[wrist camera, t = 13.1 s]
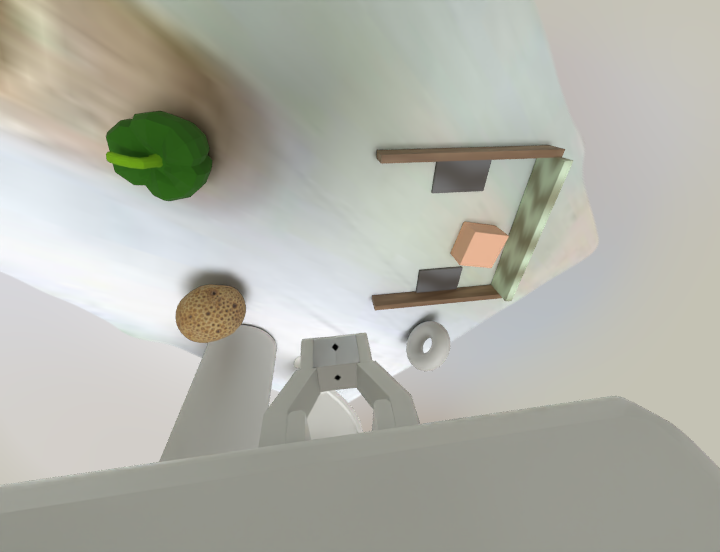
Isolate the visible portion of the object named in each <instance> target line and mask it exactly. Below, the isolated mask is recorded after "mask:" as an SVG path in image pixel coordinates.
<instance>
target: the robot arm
mask: <svg viewBox="0 0 720 552" xmlns="http://www.w3.org/2000/svg"><path fill="white" fill-rule="evenodd" d="M348 388H357V389H358V390H359V392H360V393H361V394H362V396H363V397H364V398H365V399H366V401H367V402H368V403H369V404H370V406H371V407H372V408H373V424H372V431H369V432H362V433H355V434H348V435H342V436H335V437H328V438H321V439H314V440H311V436H310V431H309V427H308V423H307V418H308V416H309V414H310V412H311V410H312V408H313V406H314V404H315V403H316V401H317V399H318V397H319V395H320V392H325V391H332V390H338V389H348ZM0 552H720V468H719V467H718V466H717V465H716V464H715V463H714V462H713V461H712V460H711V459H710V458H709V457H708V456H707V455H706V454H705V453H704V452H703V451H702V450H701V449H700V448H699V447H698V446H697V445H696V444H695V443H694V442H693V441H692V440H691V439H690V438H689V437H688V436H687V435H685V434H684V433H683V432H682V431H681V430H680V429H678V428H677V427H676V426H675V425H673V424H672V423H670V422H669V421H667V420H665V419H663V418H662V417H660V416H658V415H656V414H654V413H652V412H651V411H649V410H647V409H645V408H643V407H641V406H639V405H637V404H635V403H633V402H631V401H629V400H627V399H625V398H622V397H617V396H610V397H602V398H596V399H589V400H582V401H575V402H568V403H561V404H555V405H547V406H540V407H534V408H527V409H520V410H513V411H506V412H499V413H493V414H486V415H479V416H472V417H465V418H459V419H452V420H445V421H438V422H431V423H424V424H420V422H419V418H418V416H417V412H416V409H415V406H414V403H413V399H412V396H411V394H410V393H409V392H408V391H407V390H405V389H404V388H403V387H402V386H401V385H400V384H399V383H398V382H397V381H396V380H395V379H394V378H393V377H392V376H391V375H390V374H389V373H388V372H387V371H386V370H385V369H384V368H382V367H381V366H380V365H379V364H378V363H377V362H376V361H372V357H371V352H370V347H369V342H368V338H367V334H366V333H358V334H348V335H339V336H333V337H320V338H309V339H302V342H301V358H300V370H296V371H295V373H294V374H293V375H292V377H291V378H290V380H289V381H288V382H287V384H286V385H285V386H284V388H283V389H282V390H281V392H280V393H279V394H278V396H277V397H276V398H275V400H274V401H273V402H272V404H271V405H270V406H269V408H268V409H267V410H266V412H265V413H264V415H263V421H262V427H261V433H260V440H259V446H258V448H253V449H246V450H239V451H232V452H225V453H218V454H212V455H205V456H198V457H191V458H184V459H177V460H170V461H163V462H157V463H150V464H143V465H136V466H129V467H123V468H115V469H108V470H101V471H95V472H88V473H81V474H74V475H67V476H61V477H53V478H46V479H39V480H32V481H26V482H18V483H11V484H4V485H0Z"/></svg>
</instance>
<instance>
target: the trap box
mask: <svg viewBox="0 0 720 552" xmlns="http://www.w3.org/2000/svg"><path fill="white" fill-rule="evenodd" d="M564 151H565V149H562V148H558V147H554V146H550V145H540V146H505V147H470V148H435V149H400V150H377V159H378V160H379V162H380V163H410V162H436V167H435V174H434V180H433V186H432V193H449V192H470V191H483V190H484V186H485V183H486V179H487V175H488V172H489V168H490V164H491V160H497V159H527V158H537V159H536V162H535V165H534V167H533V170H532V173H531V176H530V178H529V181H528V184H527V187H526V189H525V192H524V195H523V198H522V200H521V203H520V206H519V209H518V211H517V214H516V217H515V220H514V222H513V225H512V228H511V231H510V233H509V237H508V239H507V242H506V244H505V247H504V250H503V253H502V255H501V258H500V261H499V264H498V266H497V269H496V272H495V275H494V278H493V280H492V283H491V285H483V286H472V287H461V288H457V286H458V282H459V279H460V275H461V271H462V267H449V268H437V269H425V270H419V275H418V282H417V288H416V292H405V293H394V294H383V295H372V302H373V305H374V309H375V310H383V309H394V308H404V307H414V306H425V305H435V304H445V303H456V302H466V301H477V300H487V299H497V298H503V299H504V300H505V301H512V299H513V297H514V294H515V292H516V290H517V287H518V285H519V283H520V281H521V278H522V276H523V274H524V272H525V269H526V267H527V265H528V263H529V260H530V258H531V256H532V253H533V251H534V249H535V247H536V244H537V242H538V240H539V238H540V235H541V233H542V231H543V228H544V226H545V224H546V222H547V219H548V217H549V215H550V213H551V210H552V208H553V206H554V204H555V201H556V199H557V197H558V194H559V192H560V190H561V188H562V185H563V183H564V181H565V179H566V176H567V174H568V172H569V169H570V167H571V165H572V163H573V160H570V159H566V158H563V157H562V156H563V153H564Z"/></svg>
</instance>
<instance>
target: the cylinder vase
mask: <svg viewBox="0 0 720 552" xmlns="http://www.w3.org/2000/svg"><path fill="white" fill-rule="evenodd" d="M276 352H277V347H276V343H275V341H274V339H273V338H272V337H271V336H270V335H269V334H268V333H267V332H265V331H263V330H261V329H259V328H256V327H252V326H246V325H240V327H239V328H237V329H236V331H235V332H234V333H233V334H231V335H229V336H227V337H225V338H223V339H220V340H217V341H213V342H209V343H208V345H207V348H206V350H205V353H204V355H203V357H202V360H201V362H200V365H199V367H198V370H197V372H196V374H195V377H194V379H193V382H192V384H191V386H190V389H189V391H188V394H187V396H186V399H185V401H184V403H183V406H182V408H181V410H180V413H179V415H178V418H177V420H176V423H175V425H174V427H173V430H172V432H171V435H170V437H169V439H168V442H167V444H166V447H165V449H164V451H163V454H162V456H161V459H160V461H159V462H163V461H170V460H177V459H184V458H191V457H198V456H205V455H212V454H218V453H225V452H232V451H239V450H246V449H253V448H258V446H259V440H260V433H261V427H262V421H263V415H264V413H265V412H266V410H267V409H268V407H269V399H270V392H271V386H272V379H273V372H274V365H275V359H276Z"/></svg>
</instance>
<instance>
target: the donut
mask: <svg viewBox="0 0 720 552" xmlns="http://www.w3.org/2000/svg"><path fill="white" fill-rule="evenodd" d="M428 338H431V339H432V345H431V348H430V350H429V351H428V352H427V353H423V344H424V342H425V341H426V340H427V339H428ZM449 350H450V338H449V335H448V332H447V330H446V329H445V328H444V327H443V326H442V325H441V324H439V323H437V322H434V321H426V322H423V323H421V324H419V325H418V326H416V327H415V328H414V329H413V331H412V332H411V334H410V335H409V337H408V341H407V348H406V352H407V357H408V359H409V361H410V363H411V364H412V365H413V366H414V367H415V368H416V369H419V370H421V371H432V370H435V369H436V368H438V367H440V366H441V365H442V364H443V363H444V362H445V360H446V358H447V356H448V354H449Z"/></svg>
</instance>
